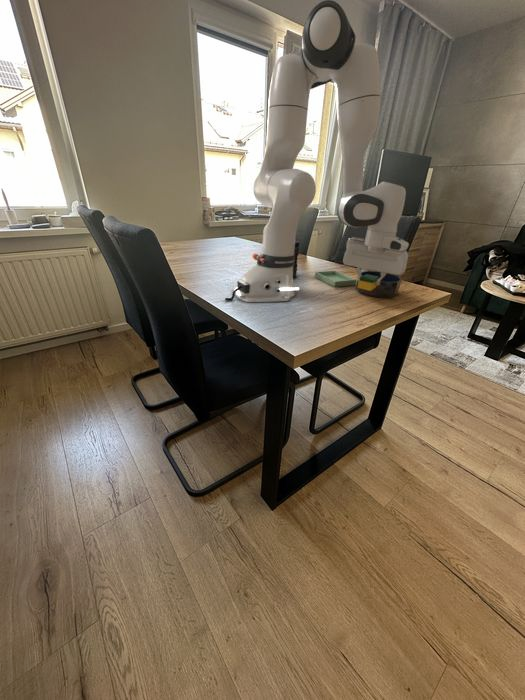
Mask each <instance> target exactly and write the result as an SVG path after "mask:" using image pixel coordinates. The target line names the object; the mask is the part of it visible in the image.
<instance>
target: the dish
mask: <svg viewBox="0 0 525 700" xmlns="http://www.w3.org/2000/svg"><path fill="white" fill-rule="evenodd" d="M314 278H315V279H318V280H320V281H321V282H324V283H326V284H328V285H330V286H331V287H333V288H338V287H349V286H356V283H357V279H355V278H353V277H351V276H349V275H346V274H344V273H342V272H340V271H338V270H326V271H325V270H324V271H323V270H322V271H315V272H314Z"/></svg>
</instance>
